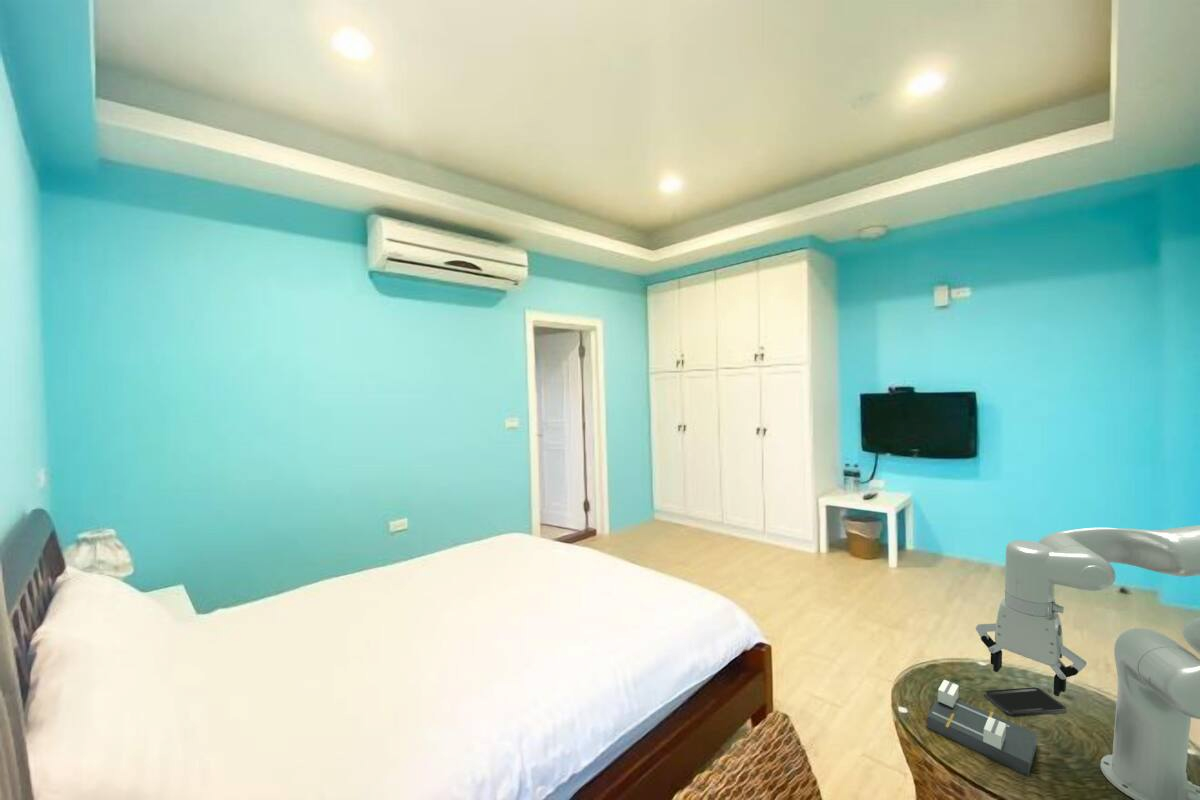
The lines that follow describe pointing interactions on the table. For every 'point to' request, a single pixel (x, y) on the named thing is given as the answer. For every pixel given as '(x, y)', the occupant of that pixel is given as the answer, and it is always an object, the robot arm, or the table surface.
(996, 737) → the fader near
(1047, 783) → the table surface
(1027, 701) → the phone
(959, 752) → the table surface
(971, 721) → the console
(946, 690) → the block
